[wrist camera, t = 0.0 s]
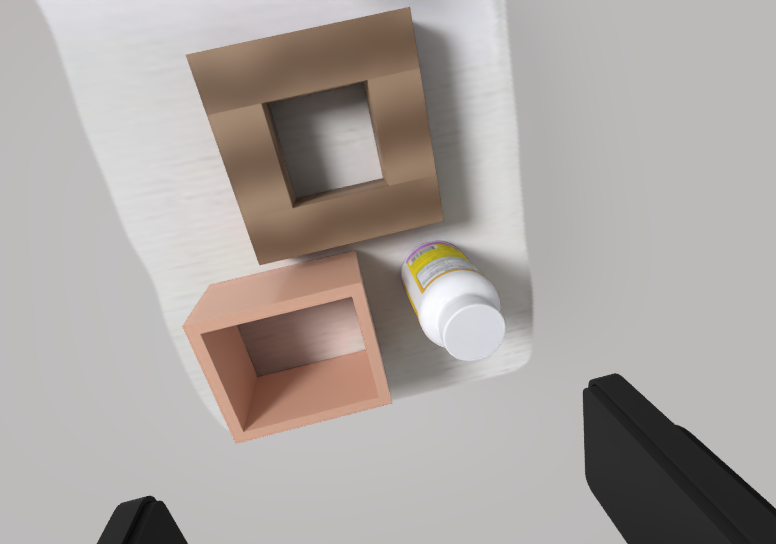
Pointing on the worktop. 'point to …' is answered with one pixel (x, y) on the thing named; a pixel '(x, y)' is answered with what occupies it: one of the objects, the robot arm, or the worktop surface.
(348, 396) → the collar
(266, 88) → the socket block
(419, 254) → the supplement bottle
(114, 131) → the worktop surface
